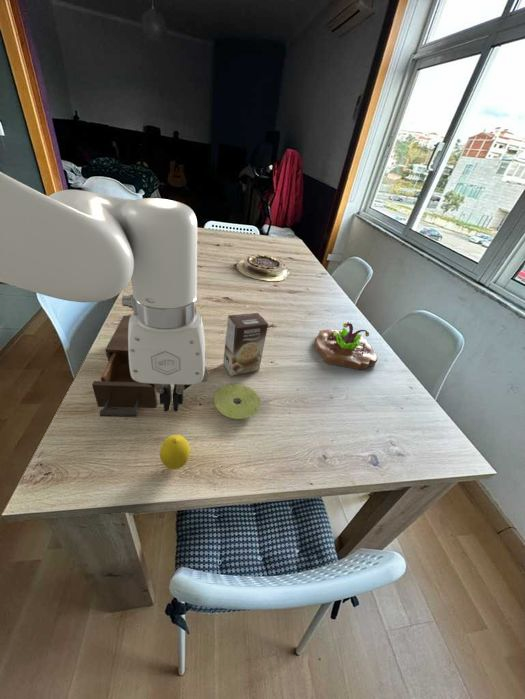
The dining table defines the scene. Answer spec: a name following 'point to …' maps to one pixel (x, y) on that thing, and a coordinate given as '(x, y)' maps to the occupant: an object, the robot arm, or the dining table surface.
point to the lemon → (175, 452)
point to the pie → (263, 267)
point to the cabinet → (119, 339)
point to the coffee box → (244, 343)
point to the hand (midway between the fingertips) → (172, 404)
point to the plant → (345, 348)
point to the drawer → (122, 389)
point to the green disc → (237, 401)
